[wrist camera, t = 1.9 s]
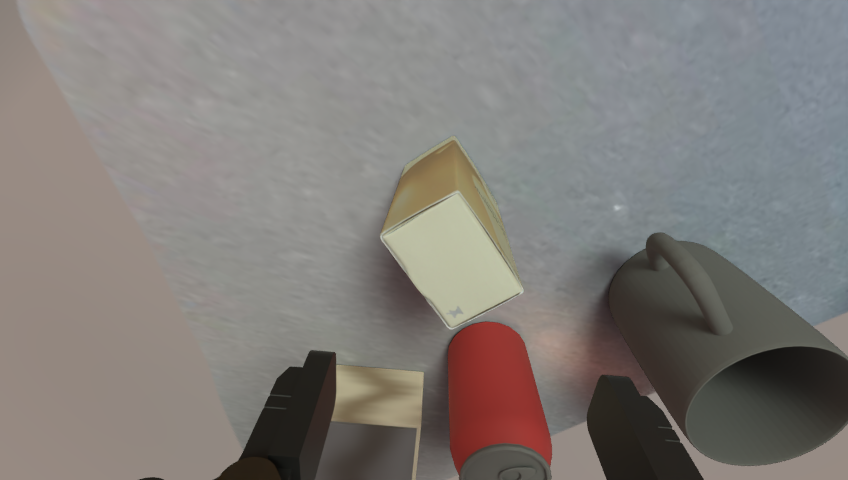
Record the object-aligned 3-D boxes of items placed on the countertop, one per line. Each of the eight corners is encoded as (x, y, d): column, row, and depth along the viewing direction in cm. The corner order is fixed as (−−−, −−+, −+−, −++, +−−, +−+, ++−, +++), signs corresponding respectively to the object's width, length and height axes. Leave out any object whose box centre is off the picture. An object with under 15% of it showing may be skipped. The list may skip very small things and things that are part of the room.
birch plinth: (423, 371, 38) (420, 428, 33) (416, 442, 42) (412, 502, 37) (322, 363, 38) (303, 418, 33) (324, 434, 42) (307, 493, 36)
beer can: (534, 366, 37) (572, 501, 27) (463, 386, 39) (472, 522, 28) (511, 307, 35) (543, 430, 24) (435, 331, 36) (434, 457, 25)
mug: (742, 304, 34) (883, 430, 23) (631, 353, 36) (712, 487, 26) (682, 164, 29) (823, 240, 19) (560, 230, 32) (622, 331, 21)
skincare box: (499, 204, 31) (531, 298, 20) (448, 233, 32) (452, 337, 21) (452, 129, 29) (460, 187, 18) (399, 163, 30) (375, 238, 19)
